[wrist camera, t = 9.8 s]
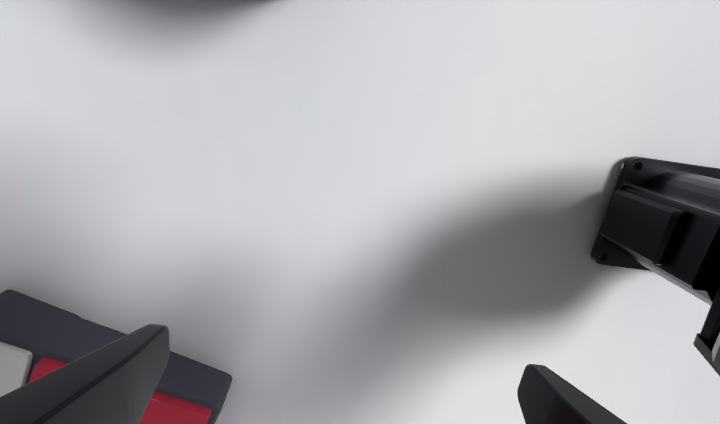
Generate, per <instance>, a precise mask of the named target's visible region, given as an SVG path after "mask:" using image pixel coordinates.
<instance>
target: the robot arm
mask: <svg viewBox="0 0 720 424" xmlns="http://www.w3.org/2000/svg"><path fill="white" fill-rule="evenodd" d="M636 163H637V167H636V168H635V169H634V165H635V164H636ZM602 253H603V256H602V257H600V258H599V256H600V255H601V254H602ZM591 258H592V259H593V260H594V261H595V262H597V263H598V264H603V265H611V266H618V267H626V268H634V269H642V270H650V271H653V272H655V273H656V274H658V275H660V276H662V277H663V278H665V279H667V280H668V281H670V282H672V283H673V284H675V285H677V286H679V287H680V288H682V289H684V290H685V291H687V292H689V293H691V294H692V295H694V296H696V297H697V298H699V299H701V300H703V301H704V302H706V303H708V304H709V305H711V307H710V309H709V312H708V315H707V317H706V320H705V322H704V325H703V328H702V330H701V333H699V334H697V335H696V338H695V341H694V343H693V344H694V346H695V347H696V348H697V349H698V350H699V352H700V353H701V354H702V355H703V356H704V358H705V359H706V360H707V361H708V362H709V364H710V365H711V366H712V367H713V368H714V370H715V371H716V372H717V373H718V374H719V376H720V169H719V168H712V167H705V166H698V165H691V164H684V163H678V162H671V161H664V160H657V159H650V158H643V157H631V158H629V159H628V160H627V161H626V162H625V164H624V167H623V169H622V172H621V175H620V177H619V180H618V183H617V185H616V188H615V191H614V194H613V196H612V199H611V202H610V204H609V207H608V210H607V212H606V215H605V218H604V220H603V223H602V226H601V229H600V231H599V234H598V237H597V239H596V242H595V245H594V247H593V250H592V253H591ZM169 353H170V351H169V329H168V327H167V326H165V325H157V324H149V325H146V326H144V327H142V328H140V329H138V330H136V331H134V332H132V333H130V334H128V335H126V336H124V337H122V338H120V339H118V340H116V341H114V342H111V343H109V344H107V345H105V346H103V347H101V348H99V349H97V350H95V351H93V352H91V353H89V354H87V355H85V356H83V357H81V358H79V359H77V360H75V361H73V362H71V363H69V364H67V365H64V366H62V367H60V368H58V369H56V370H54V371H52V372H50V373H48V374H46V375H44V376H42V377H40V378H38V379H36V380H34V381H32V382H30V383H28V384H26V385H24V386H21V387H19V388H17V389H15V390H13V391H11V392H9V393H7V394H5V395H3V396H1V397H0V424H138V423H139V421H140V419H141V417H142V415H143V413H144V411H145V409H146V407H147V405H148V402H149V400H150V398H151V396H152V394H153V392H154V390H155V388H156V386H157V384H158V382H159V380H160V378H161V376H162V373H163V371H164V369H165V367H166V365H167V363H168V360H169ZM518 400H519V403H520V407H521V410H522V413H523V416H524V419H525V423H526V424H627V423H625V422H624V421H622V420H621V419H620V418H618V417H617V416H615V415H614V414H613V413H611V412H610V411H608V410H607V409H605V408H604V407H603V406H601V405H600V404H598V403H597V402H595V401H594V400H593V399H591V398H590V397H588V396H587V395H586V394H584V393H583V392H581V391H580V390H578V389H577V388H576V387H574V386H573V385H571V384H570V383H568V382H567V381H566V380H564V379H563V378H561V377H560V376H559V375H557V374H556V373H554V372H553V371H551V370H550V369H549V368H547V367H546V366H543V365H535V364H529V365H527V366H526V367H525V370H524V373H523V375H522V378H521V381H520V384H519V387H518Z"/></svg>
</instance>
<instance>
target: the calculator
mask: <svg viewBox="0 0 720 424" xmlns="http://www.w3.org/2000/svg"><path fill="white" fill-rule="evenodd" d="M126 335H127V334H124V333H121V332H119V331H116V330H113V329H110V328H107V327H104V326H101V325H98V324H95V323H93V322H90V321H87V320H84V319H81V318H80V317H79V316H77V315H75V314H73V313H70V312H68V311H65V310H63V309H60V308H57V307H55V306H52V305H50V304H47V303H44V302H42V301H39V300H37V299H34V298H31V297H29V296H26V295H24V294H21V293H19V292H16V291H13V290H6V291H4V292H3V293H1V294H0V397H1V396H3V395H5V394H7V393H9V392H11V391H13V390H15V389H17V388H19V387H21V386H24V385H26V384H28V383H30V382H32V381H34V380H36V379H38V378H40V377H42V376H44V375H46V374H48V373H50V372H52V371H54V370H56V369H58V368H60V367H62V366H64V365H67V364H69V363H71V362H73V361H75V360H77V359H79V358H81V357H83V356H85V355H87V354H89V353H91V352H93V351H95V350H97V349H99V348H101V347H103V346H105V345H107V344H109V343H111V342H114V341H116V340H118V339H120V338H122V337H124V336H126ZM231 381H232V377H231V375H229V374H228V373H225V372H223V371H220V370H218V369H215V368H212V367H210V366H207V365H205V364H202V363H200V362H197V361H194V360H192V359H189V358H187V357H184V356H181V355H179V354H176V353H174V352H171V351H170V353H169V360H168V363H167V365H166V367H165V369H164V371H163V373H162V376H161V378H160V380H159V382H158V384H157V386H156V388H155V390H154V392H153V394H152V396H151V398H150V400H149V402H148V405H147V407H146V409H145V411H144V413H143V415H142V417H141V419H140V421H139V423H138V424H214V423H215V421H216V419H217V417H218V415H219V413H220V411H221V409H222V407H223V404H224V401H225V398H226V395H227V393H228V390H229V387H230V384H231Z"/></svg>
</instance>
